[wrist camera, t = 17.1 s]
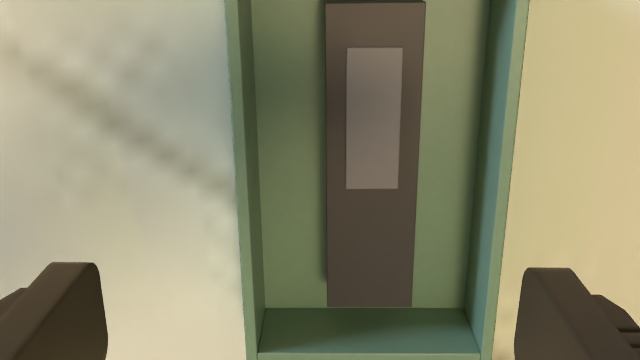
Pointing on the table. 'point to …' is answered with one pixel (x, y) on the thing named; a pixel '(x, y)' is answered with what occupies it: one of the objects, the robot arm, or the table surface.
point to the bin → (432, 189)
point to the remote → (372, 148)
